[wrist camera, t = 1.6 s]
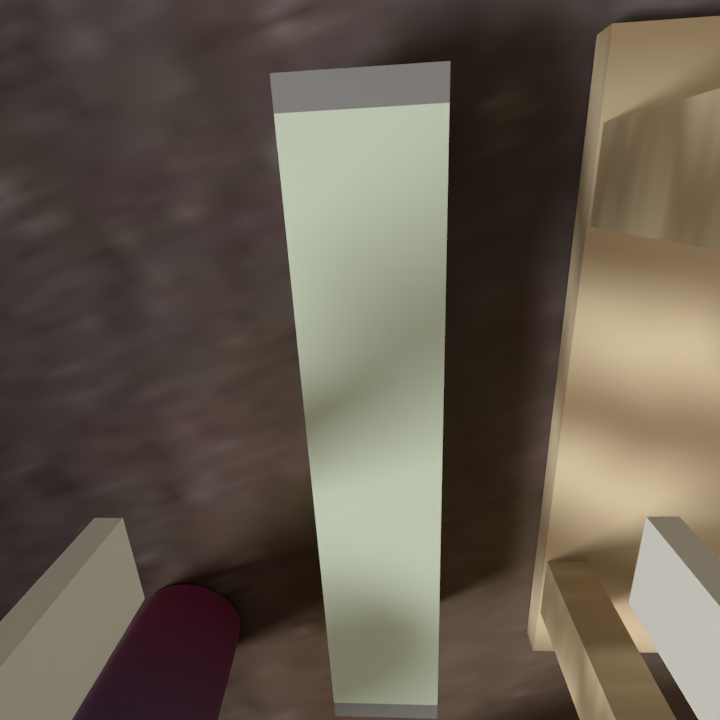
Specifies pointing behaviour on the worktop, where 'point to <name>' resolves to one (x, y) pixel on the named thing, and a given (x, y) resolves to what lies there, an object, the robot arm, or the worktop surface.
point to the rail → (372, 361)
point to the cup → (169, 660)
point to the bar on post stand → (634, 357)
